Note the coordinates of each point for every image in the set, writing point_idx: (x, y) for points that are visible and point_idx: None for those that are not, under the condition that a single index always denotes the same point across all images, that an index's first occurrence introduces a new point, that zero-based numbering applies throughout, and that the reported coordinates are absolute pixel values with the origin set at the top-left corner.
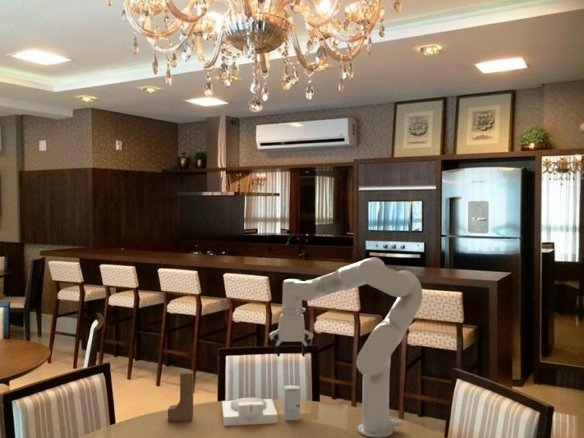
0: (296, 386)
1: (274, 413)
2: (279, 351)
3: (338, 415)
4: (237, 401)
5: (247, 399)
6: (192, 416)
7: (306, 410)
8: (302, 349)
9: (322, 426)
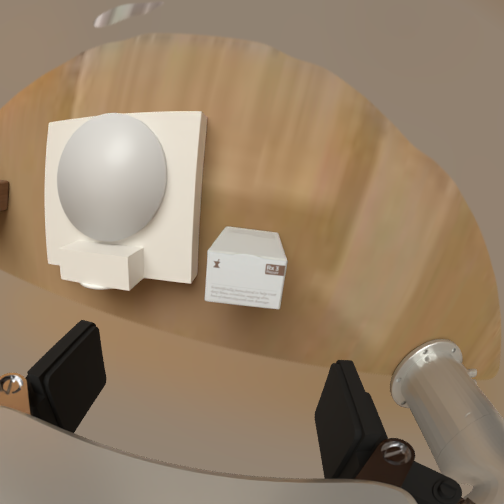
0: (269, 279)
1: (182, 272)
2: (85, 409)
3: (405, 256)
4: (76, 153)
5: (106, 134)
6: (4, 197)
7: (324, 182)
8: (332, 435)
9: (325, 328)
